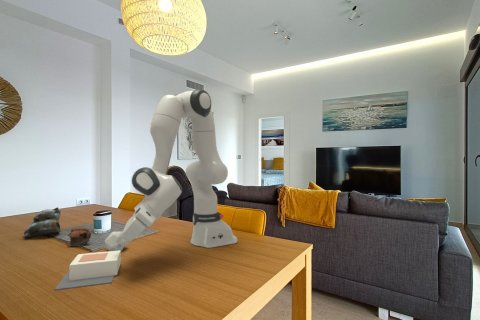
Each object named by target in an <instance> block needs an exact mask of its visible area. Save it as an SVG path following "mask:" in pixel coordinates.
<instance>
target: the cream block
mask: <svg viewBox="0 0 480 320" xmlns="http://www.w3.org/2000/svg"><path fill="white" fill-rule="evenodd" d="M121 252H122V251H121V250H119V251H109V250H108V251H98V252H89V253H79V254H77V255H76V256H75V258H74V259H73V260H72V261H71V263H70V264H69V269H68V271H69V281H71V280H79V279H88V278H96V277H104V276H112V275H114V276H117V275H118V273H119V270H120V267H121V261H122V259H121V257H122V254H121Z"/></svg>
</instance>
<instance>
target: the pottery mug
mask: <svg viewBox="0 0 480 320" xmlns="http://www.w3.org/2000/svg"><path fill="white" fill-rule="evenodd" d="M91 236H92V234H91V232H90V231H89V229H86V228H73V229H71V230H70V233H69V234H68V235H67V237H69V239H70V241H67V243H66V244H67V245H66V246H67V248H69V247H81V246H82V244H87V243H88V241H89V240H90V239H91V238H92V237H91ZM80 245H81V246H80Z"/></svg>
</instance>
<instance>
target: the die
mask: <svg viewBox="0 0 480 320" xmlns="http://www.w3.org/2000/svg"><path fill="white" fill-rule="evenodd" d="M122 232H123V231H112V232H111V233H109V235H108V236H107V237H106V239H105V240H104V243H105V245H106V247H107V250H108V251H119V250H121V252H122V251H123V250H124V248H125V247H126V245H127V244H128V243H129V242H127V241H126V240H123V241H122V242H121V243H120V244H117V243H116V242H115V241H116V239H117V237H118V236H119V235H120V234H121V233H122Z"/></svg>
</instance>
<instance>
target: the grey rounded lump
mask: <svg viewBox="0 0 480 320" xmlns="http://www.w3.org/2000/svg"><path fill="white" fill-rule="evenodd" d="M61 213H62V210H61V209H60V208H59V207H54V209H52V208H47V209H44V210H43V209H42V210H41V211H40V212H38V213H36V214H35V216H34V217H33V219H32V222H31V224H30V225H29V226H28V227H27V228H26V229H25V230H24V232H23V236H21V237H22V238H25V239H27V238H32V237H36V236H43V235H45V236H46V235H51V234H52V235H56V234H57V235H58V234H60V233H61V232H62V231H61V224H60V218H61Z"/></svg>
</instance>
